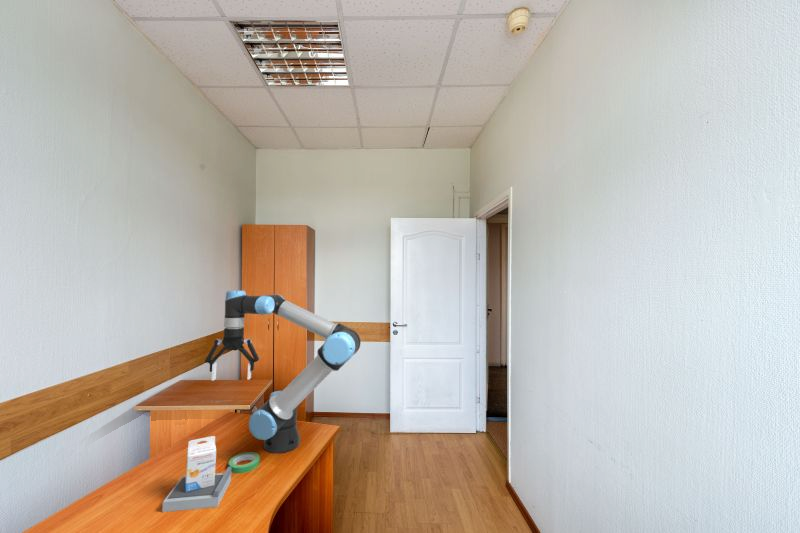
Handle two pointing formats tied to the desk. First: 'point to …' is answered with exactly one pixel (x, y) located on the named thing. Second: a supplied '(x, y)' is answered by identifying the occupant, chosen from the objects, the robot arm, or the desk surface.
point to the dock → (197, 494)
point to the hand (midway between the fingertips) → (231, 379)
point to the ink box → (200, 464)
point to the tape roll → (247, 467)
